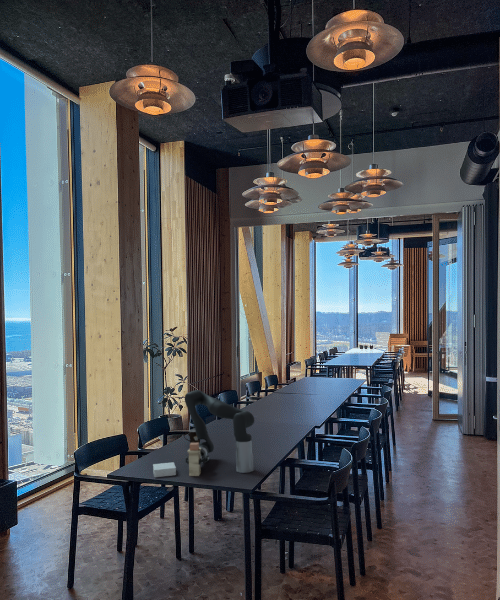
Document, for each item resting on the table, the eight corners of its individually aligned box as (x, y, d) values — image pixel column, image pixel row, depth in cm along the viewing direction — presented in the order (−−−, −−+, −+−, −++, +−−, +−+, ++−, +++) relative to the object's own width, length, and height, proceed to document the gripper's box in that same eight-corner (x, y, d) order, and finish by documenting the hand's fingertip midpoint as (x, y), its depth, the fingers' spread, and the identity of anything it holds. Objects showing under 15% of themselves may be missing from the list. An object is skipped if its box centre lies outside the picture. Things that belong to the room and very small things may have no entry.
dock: (173, 469, 289) (173, 462, 290) (175, 475, 278) (175, 467, 278) (153, 471, 286) (153, 464, 287) (154, 477, 275) (154, 470, 275)
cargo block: (191, 448, 281) (191, 442, 281) (199, 448, 280) (198, 442, 281) (189, 450, 277) (189, 444, 277) (197, 450, 276) (197, 444, 276)
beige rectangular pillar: (190, 472, 281) (190, 447, 282) (201, 472, 281) (201, 447, 281) (188, 476, 275) (187, 450, 276) (199, 476, 274) (198, 450, 275)
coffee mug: (202, 443, 350) (202, 429, 351) (200, 446, 342) (199, 431, 342) (186, 443, 352) (186, 429, 352) (183, 446, 343) (183, 432, 343)
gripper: (187, 448, 293) (181, 456, 277) (211, 448, 292) (206, 455, 275) (188, 461, 293) (181, 469, 276) (212, 461, 292) (206, 469, 275)
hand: (193, 462), depth 276 cm, fingers closed on beige rectangular pillar, 5 cm apart
